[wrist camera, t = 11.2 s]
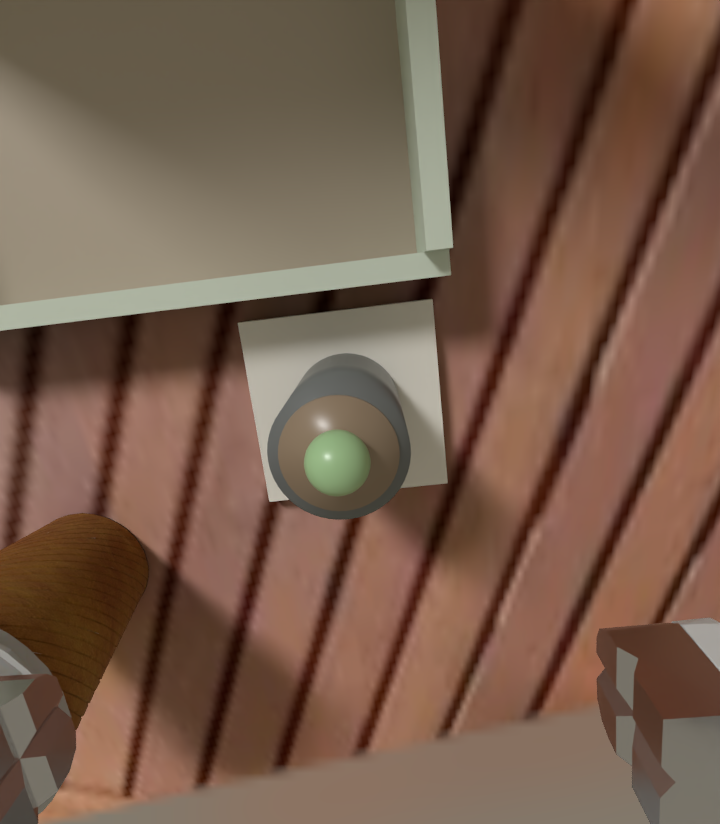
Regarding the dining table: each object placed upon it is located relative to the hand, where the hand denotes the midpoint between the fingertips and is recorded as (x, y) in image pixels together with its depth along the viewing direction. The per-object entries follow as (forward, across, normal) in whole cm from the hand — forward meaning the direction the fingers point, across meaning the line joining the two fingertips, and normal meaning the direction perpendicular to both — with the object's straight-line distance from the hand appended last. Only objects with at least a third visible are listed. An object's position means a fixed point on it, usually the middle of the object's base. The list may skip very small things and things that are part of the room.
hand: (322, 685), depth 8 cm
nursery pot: (+18, +1, 0) cm, 18 cm away
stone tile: (+18, +1, 0) cm, 18 cm away
